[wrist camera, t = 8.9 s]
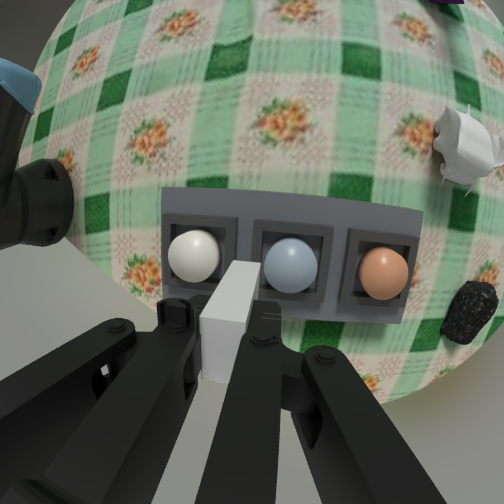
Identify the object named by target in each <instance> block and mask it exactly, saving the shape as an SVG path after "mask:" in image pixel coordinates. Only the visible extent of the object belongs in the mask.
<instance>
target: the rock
mask: <svg viewBox="0 0 504 504" xmlns="http://www.w3.org/2000/svg"><path fill="white" fill-rule="evenodd" d="M498 304H499V300H498V298H497V295H496V291H495V288H494V287H493V286H492V284H489V283H488V282H477V281H467V282H466V283H465V285H463V286H462V287H461V288H460V289H459V292H458V294H457V295H456V296H455V298H454V299H453V301H452V303H451V307H450V311H449V313H448V316H447V317H446V320H445V322H444V324H443V325H442V327H441V329H440V333H441V334H442V335H445V336H446V337H447V338H448V339H450V340H451V341H454V342H456V343H458V344H462V345H467V344H469V343H471V342H472V340H473V339H474V338H475V337H476V335H477V334H478V332H479V331H480V330H481V329H482V328H483V326H484V325H485V324H486V323H487V322H488V321H489V320H490V319H491V317H492V316H493V315H494V313H495V311H496V309H497V306H498Z"/></svg>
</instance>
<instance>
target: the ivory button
mask: <svg viewBox="0 0 504 504" xmlns="http://www.w3.org/2000/svg"><path fill="white" fill-rule="evenodd" d="M221 255H222V253H221V247H220V244H219V242H218V240H217V239H216V238H215V237H214V236H213V235H212V234H211V233H209V232H208V231H205V230H201V229H194V230H190V231H188V232H186V233H184V234H182V235H179V236H178V237H176V238H175V239H174V240H173V242H172V243H171V245H170V247H169V251H168V260H169V264H170V266H171V268H172V270H173V272H174V273H175V274H176V275H177V276H178V277H179V278H181V279H183V280H185V281H188V282H201V281H203V280H205V279H207V278H208V277H209V276H210V275H211V274H212V273H213V271H214V270H215V269H216V268H217V267H218V265H219V263H220V261H221Z"/></svg>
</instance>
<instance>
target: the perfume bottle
mask: <svg viewBox="0 0 504 504" xmlns="http://www.w3.org/2000/svg"><path fill="white" fill-rule="evenodd" d="M429 1H430V2H432V3H444V4H464V1H463V0H429Z"/></svg>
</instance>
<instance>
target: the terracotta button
mask: <svg viewBox="0 0 504 504" xmlns="http://www.w3.org/2000/svg"><path fill="white" fill-rule="evenodd" d="M357 275H358V279H359V281H360V283H361V285H362V286H363V287H364V289H365V290H366V292H367V293H368V294H369V295H370V296H371V297H373V298H375V299H378V300H388V299H391V298H393V297H395V296H396V295H398V294H399V293H400V292H401V291H402V289H403V288H404V286H405V285H406V282H407V279H408V266H407V263H406V261H405V260H404V258H403V257H402V256H400V255H399V254H398V253H396V252H395V251H393V250H392V249H390V248H388V247H384V246H378V247H374V248H372V249H370V250H368V251H367V252H366V253H365V254H364V255H363V256H362V258H361V259H360V261H359V264H358V268H357Z"/></svg>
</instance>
